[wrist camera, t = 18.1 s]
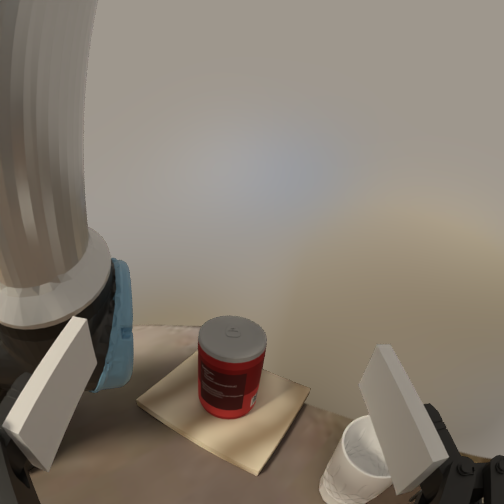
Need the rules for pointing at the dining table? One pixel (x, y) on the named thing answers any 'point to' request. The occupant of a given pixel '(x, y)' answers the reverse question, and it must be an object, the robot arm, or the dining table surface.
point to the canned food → (230, 365)
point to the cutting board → (223, 430)
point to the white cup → (355, 467)
